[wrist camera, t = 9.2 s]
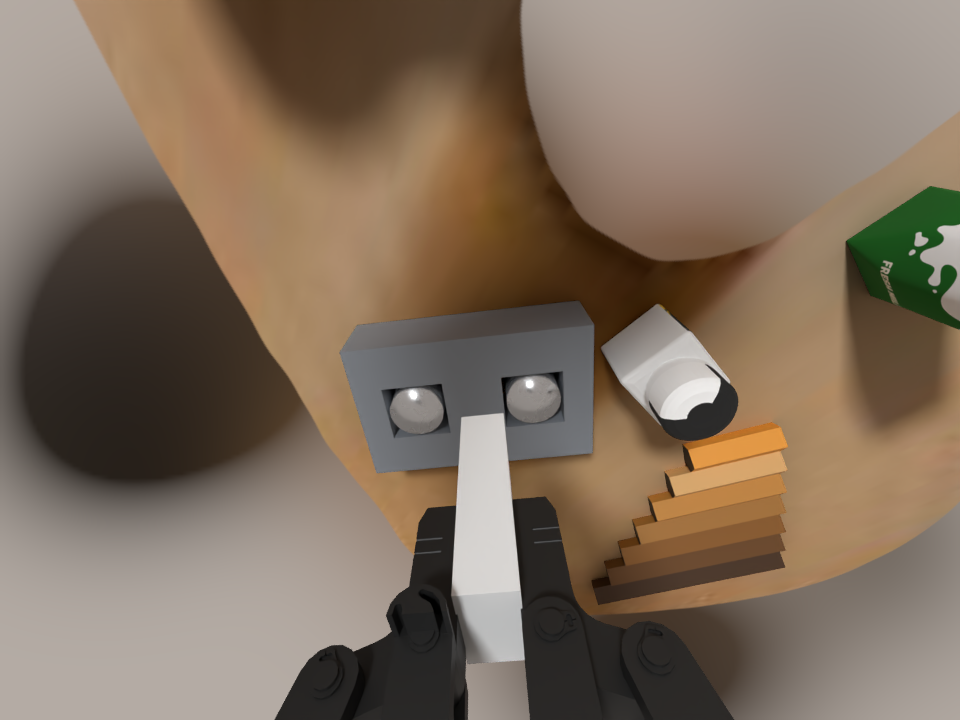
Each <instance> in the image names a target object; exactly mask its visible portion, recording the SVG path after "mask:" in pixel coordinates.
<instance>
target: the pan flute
mask: <svg viewBox="0 0 960 720" xmlns="http://www.w3.org/2000/svg"><path fill="white" fill-rule="evenodd" d="M682 445H683V452H684V460H685V462H686V464H687V466H684V467H680V468H676V469H672V470H668V471H664V472H665V478H666V484H667V488H668V490H669V491H668V492H664V493H660V494H655V495H651V496H648V501H649V506H650V510H651V513H652V515H650V516H646V517H641V518H637V519H632V521H633V526H634V530H635V534H636V536H637V537H634V538H630V539H625V540H621V541H618V544H619V548H620V552H621V555H622V558H617V559H613V560H608V561H604V563H605V566H606V570H607V573H608V576H609V577H605V578H600V579H595V580H592V584H593V588H594V592H595V595H596V599H597V602H598V605H600V604H605V603H610V602H615V601H620V600H625V599H630V598H635V597H640V596H645V595H650V594H655V593H660V592H665V591H670V590H675V589H680V588H685V587H690V586H695V585H700V584H705V583H710V582H715V581H720V580H725V579H730V578H735V577H740V576H745V575H750V574H755V573H760V572H765V571H770V570H775V569H780V568H785V565H784V563H783V560H782V557H781V554H780V551H785V547H784V544H783V542H782V539H781V536H780V533H784V532H786V531H785V528H784V525H783V522H782V520H781V517H780V514H783V513H786V510H785V507H784V505H783V502H782V499H781V497H780V494H783V493H786V492H787V491H786V488H785V486H784V483H783V480H782V478H781V475H780V473H782V472H785V471H787V468H786V465H785V462H784V460H783V457H782V454H781V452H780V451H781V450H783V449H785V448H787V447H788V445H787V443H786V440H785V438H784V435H783V432H782V430H781V427H779V426H778V425H776V424H774V423H772V422H771V423H767V424H763V425H759V426H755V427H751V428H747V429H743V430H739V431H734V432H730V433H726V434H722V435H718V436H714V437H710V438H706V439H702V440H698V441H694V442H690V443H686V444H682Z"/></svg>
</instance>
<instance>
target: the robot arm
mask: <svg viewBox="0 0 960 720" xmlns="http://www.w3.org/2000/svg"><path fill="white" fill-rule="evenodd" d="M414 553H415V555H414V559H413V566H412V572H411V578H410V586H409V587H408V588H407V589H405V590H404V591H402V592H401V593H399V594H398V595H397V596H396V598H395V599H394V600H393V601H392V602H391V604H390V606H389V609H388V612H387V614H386V617H387V620H388V622H389V624H390V628H391V630H392V632H391V633H389V634H388V635H387V636H386V637H384V638H383V639H381V640H379V641H377V642H375V643H373V644H370V645H368V646H366V647H363V648H361V649H359V650H356V651H354V652H353V651H352V650H351V649H349V648H347V647H345V646H343V645H333V646H329V647H327V648H325V649H322V650H320V651H319V652H318V653H317V654H315V655H314V656H313V657H312V658H310V659H309V660H308V662H307V663H306V665H305V666H304V667H303V669H302V670H301V671H300V673H299V675H298V677H297V679H296V680H295V683H294V684H293V686H292V688H291V690H290V692H289V694H288V696H287V697H286V699H285V701H284V703H283V705H282V707H281V709H280V711H279V712H278V714H277V716H276V718H275V720H468V690H467V683H466V679H465V671H466V670H465V669H466V659H467V663H468V664H475V663H489V662H503V661H518V660H525V668H526V679H527V690H528V700H529V713H530V720H734V719H733V717H732V716H731V714H730V713H729V711H728V710H727V708H726V706H725V705H724V703H723V702H722V701H721V699H720V697H719V696H718V694H717V693H716V691H715V690H714V688H713V687H712V685H711V683H710V682H709V680H708V679H707V677H706V676H705V674H704V673H703V671H702V670H701V668H700V667H699V665H698V664H697V662H696V660H695V659H694V657H693V656H692V654H691V653H690V651H689V650H688V648H687V647H686V645H685V644H684V643H683V642H682V640H681V639H680V638H679V637H678V636H677V635H676V634H675V632H673V631H671V630H670V629H668V628H667V627H665V626H664V625H662V624H658V623H654V622H651V621H646V622H637V623H636V624H634V625H632V626H631V627H629V628H628V629H623V628H619V627H615V626H612V625H608V624H604V623H602V622H600V621H597V620H595V619H594V618H592V617H591V616H589V615H588V614H587V613H586V612H585V611H584V610H583V609H582V608H581V607H580V606H579V604H578V603H577V601H576V599H575V597H574V594H573V590H572V586H571V581H570V576H569V572H568V567H567V562H566V557H565V553H564V548H563V543H562V538H561V534H560V529H559V524H558V520H557V515H556V510H555V509H554V507H553V506H552V505H551V503H550V502H549V501H548V499H547V498H546V497H536V498H525V499H514V500H513V499H512V489H511V479H510V469H509V460H508V451H507V441H506V432H505V423H504V414H503V413H499V414H489V415H478V416H468V417H461V434H460V452H459V469H458V487H457V505H456V506H446V507H435V508H428V509H427V510H426V512H425V514H424V515H423V517H422V519H421V520H420V522H419V526H418V532H417V542H416V545H415V552H414Z"/></svg>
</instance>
